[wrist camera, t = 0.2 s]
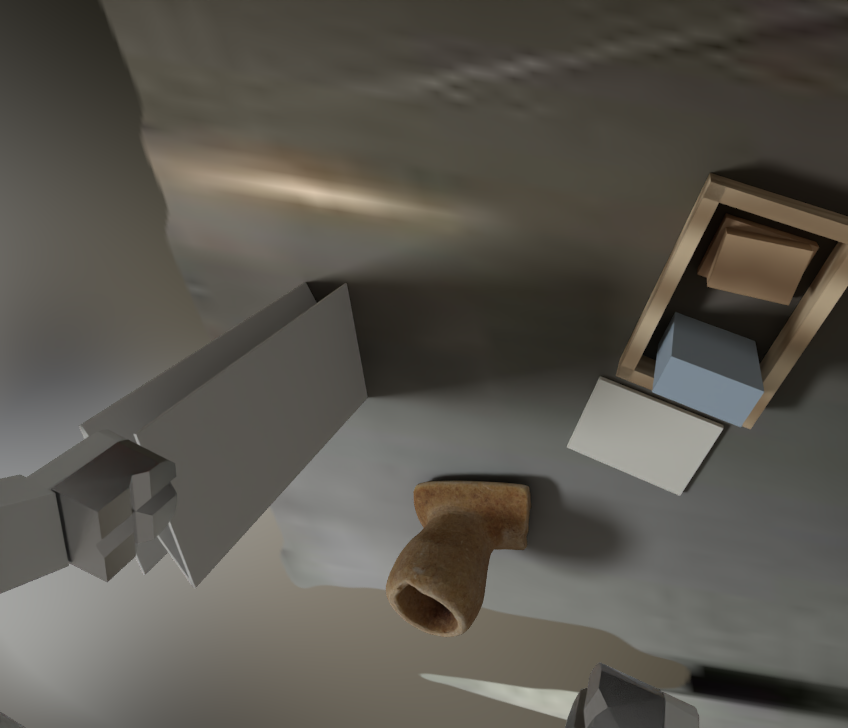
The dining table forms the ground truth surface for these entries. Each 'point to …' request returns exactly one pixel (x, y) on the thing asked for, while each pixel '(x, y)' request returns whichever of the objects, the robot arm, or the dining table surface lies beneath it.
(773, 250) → the offcut upper
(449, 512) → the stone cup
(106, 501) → the robot arm
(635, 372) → the wooden tray
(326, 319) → the grey box
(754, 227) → the offcut lower
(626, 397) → the mat
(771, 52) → the dining table surface
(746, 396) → the blue grey block
